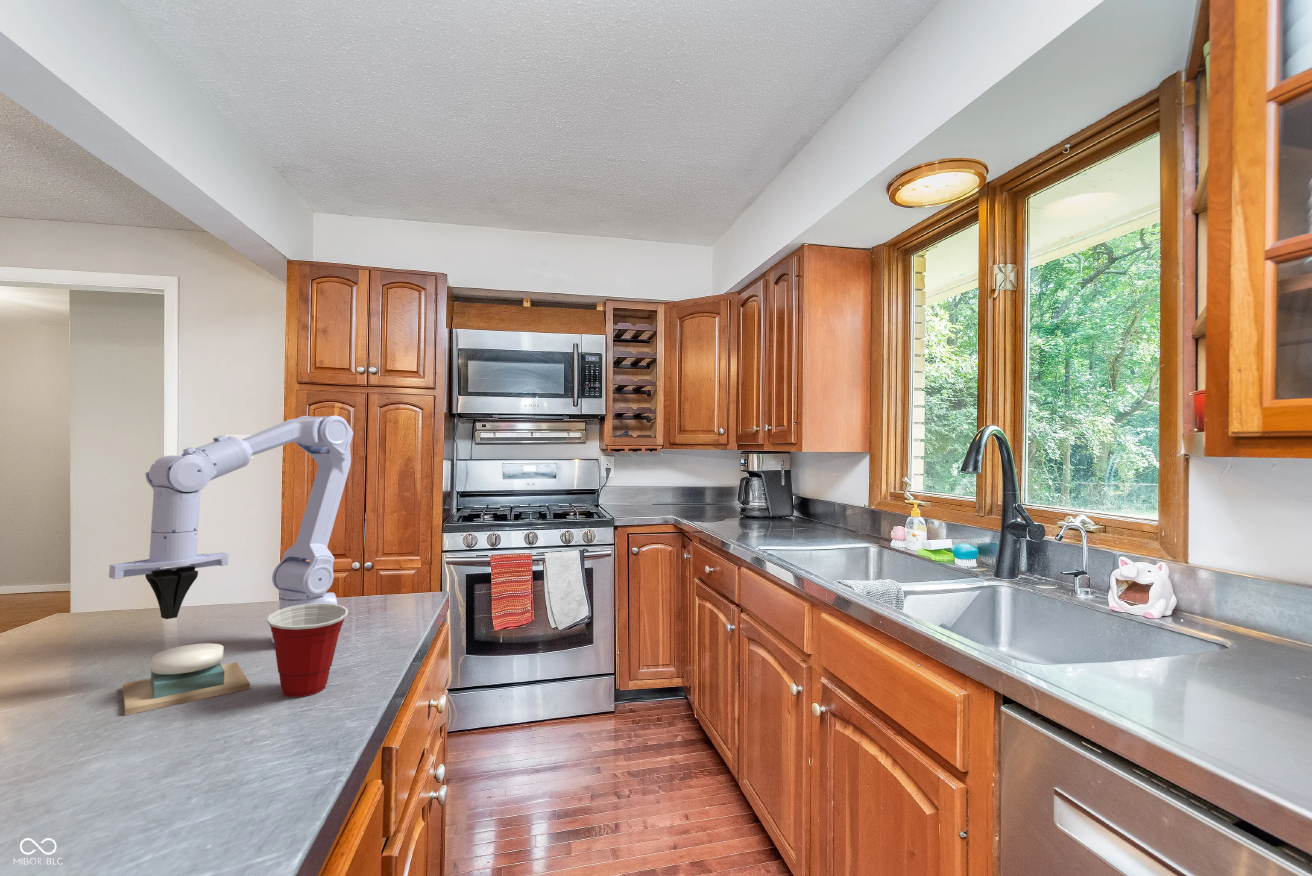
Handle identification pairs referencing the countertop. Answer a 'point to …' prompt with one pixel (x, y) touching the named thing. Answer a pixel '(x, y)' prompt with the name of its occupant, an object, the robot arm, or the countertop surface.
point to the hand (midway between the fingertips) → (169, 617)
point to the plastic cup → (305, 645)
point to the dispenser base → (147, 703)
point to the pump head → (187, 658)
